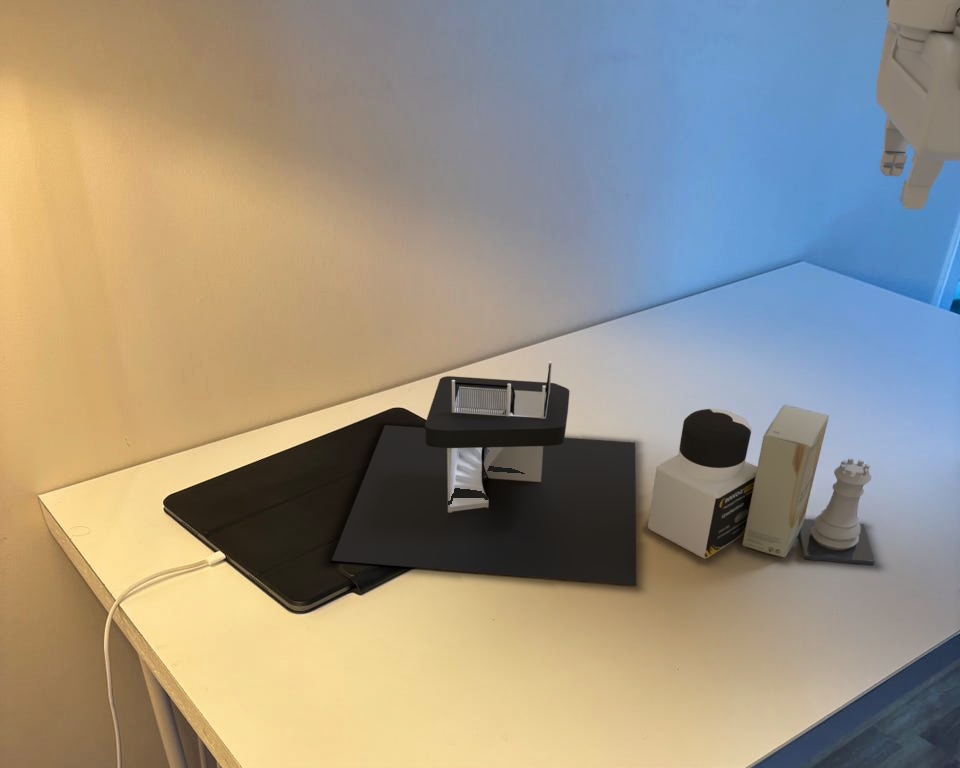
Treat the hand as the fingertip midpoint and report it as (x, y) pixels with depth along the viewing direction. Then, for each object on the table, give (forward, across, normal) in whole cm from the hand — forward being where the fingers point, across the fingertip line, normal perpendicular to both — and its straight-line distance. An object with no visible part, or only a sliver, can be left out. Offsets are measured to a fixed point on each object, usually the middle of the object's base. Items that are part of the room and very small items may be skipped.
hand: (899, 189), depth 84 cm
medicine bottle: (+29, -11, +13) cm, 34 cm away
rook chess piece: (+29, -11, 0) cm, 31 cm away
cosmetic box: (+29, -11, +6) cm, 31 cm away
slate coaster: (+29, -11, 0) cm, 31 cm away
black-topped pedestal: (+29, -8, +33) cm, 45 cm away
